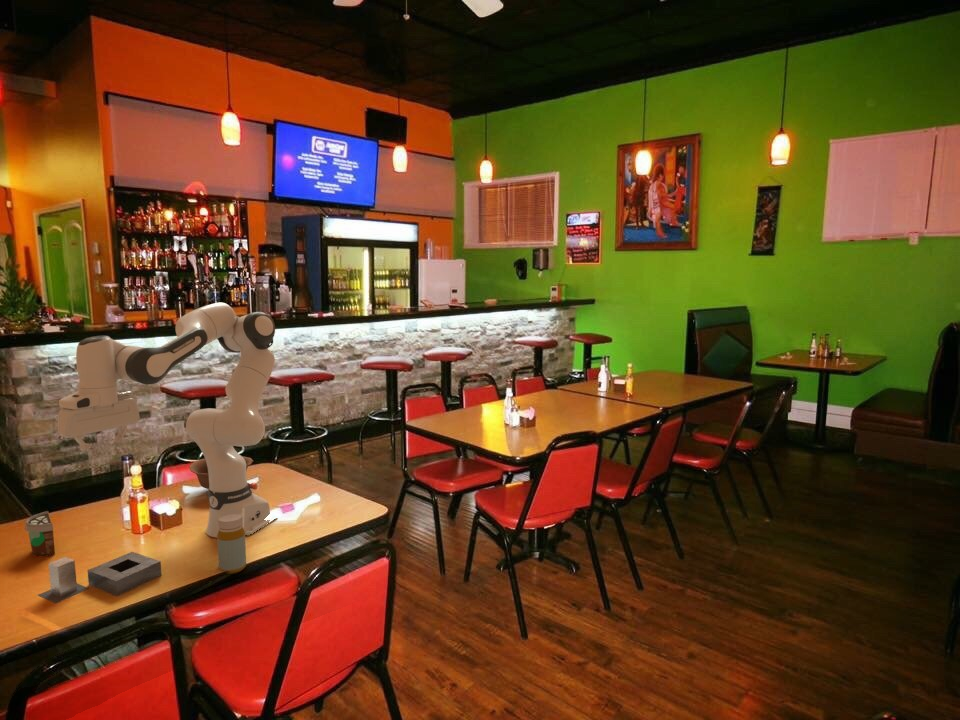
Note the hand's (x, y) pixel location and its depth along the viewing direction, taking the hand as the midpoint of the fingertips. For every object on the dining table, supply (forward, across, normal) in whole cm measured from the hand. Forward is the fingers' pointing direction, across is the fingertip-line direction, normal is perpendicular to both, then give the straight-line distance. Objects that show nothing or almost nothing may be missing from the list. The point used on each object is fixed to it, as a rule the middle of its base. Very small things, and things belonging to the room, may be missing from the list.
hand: (102, 446), depth 165 cm
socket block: (+34, +5, +14) cm, 37 cm away
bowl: (+34, -55, -21) cm, 68 cm away
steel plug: (+33, +16, +6) cm, 37 cm away
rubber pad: (+34, +16, +6) cm, 38 cm away
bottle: (+34, -14, +32) cm, 49 cm away
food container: (+34, +5, -26) cm, 43 cm away
